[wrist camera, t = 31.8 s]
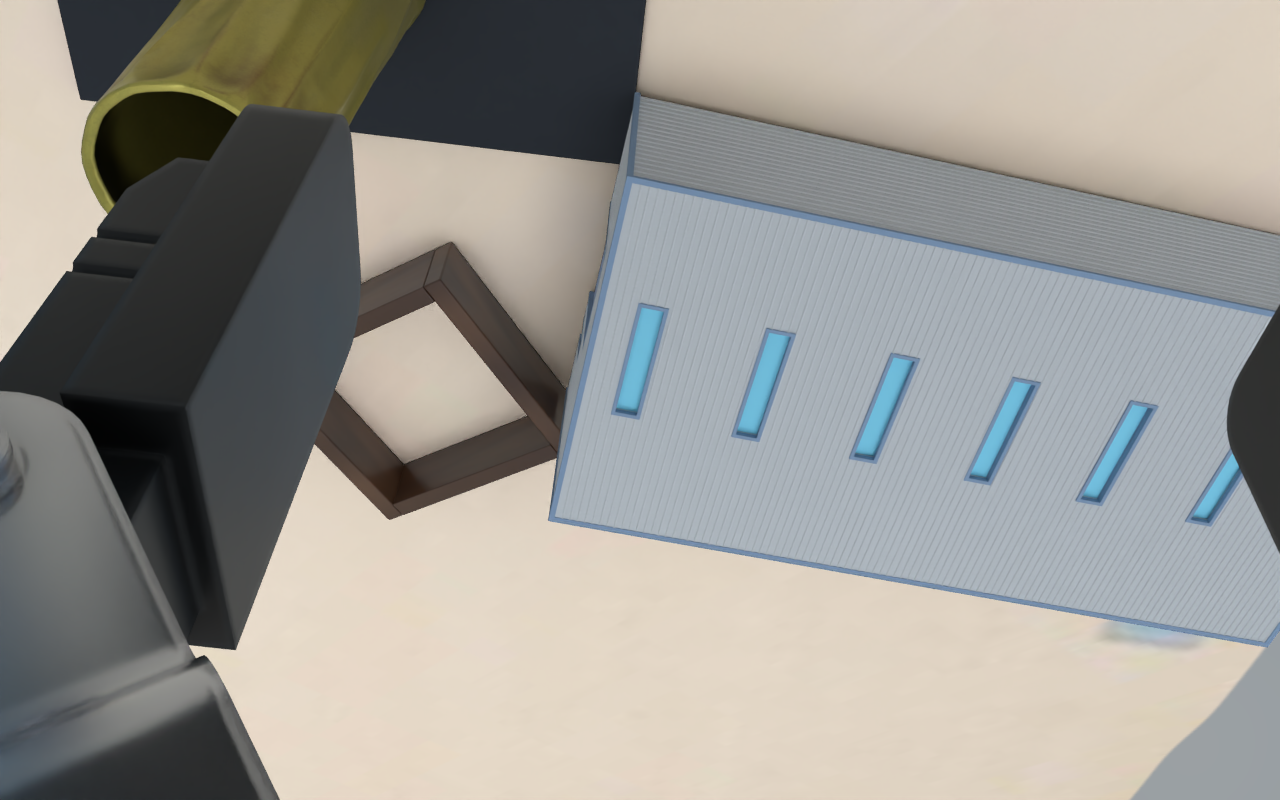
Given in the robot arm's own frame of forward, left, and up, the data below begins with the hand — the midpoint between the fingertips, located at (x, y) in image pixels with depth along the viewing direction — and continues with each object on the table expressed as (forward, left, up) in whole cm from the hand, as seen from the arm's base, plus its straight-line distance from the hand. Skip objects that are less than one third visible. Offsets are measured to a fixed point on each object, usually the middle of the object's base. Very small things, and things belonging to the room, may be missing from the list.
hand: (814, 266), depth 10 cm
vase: (+1, -16, -30) cm, 34 cm away
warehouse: (+25, -3, -30) cm, 39 cm away
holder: (+18, -24, -30) cm, 42 cm away
